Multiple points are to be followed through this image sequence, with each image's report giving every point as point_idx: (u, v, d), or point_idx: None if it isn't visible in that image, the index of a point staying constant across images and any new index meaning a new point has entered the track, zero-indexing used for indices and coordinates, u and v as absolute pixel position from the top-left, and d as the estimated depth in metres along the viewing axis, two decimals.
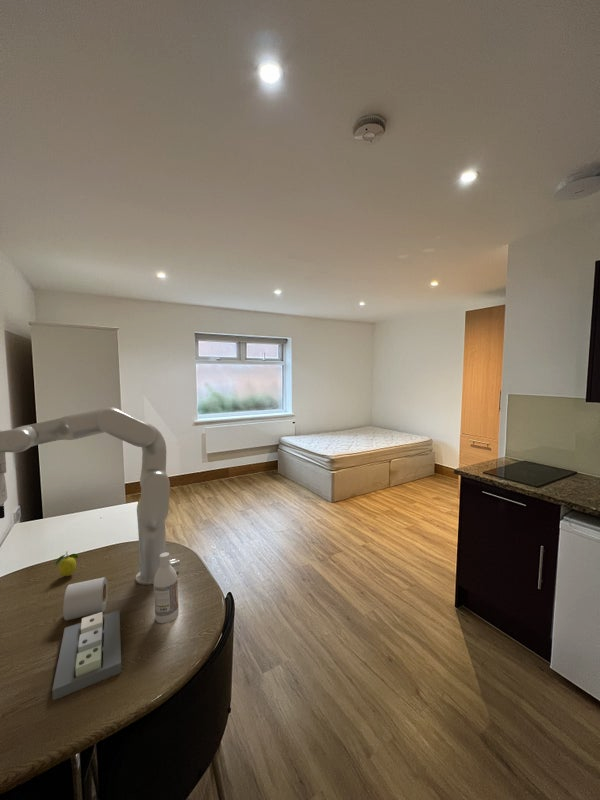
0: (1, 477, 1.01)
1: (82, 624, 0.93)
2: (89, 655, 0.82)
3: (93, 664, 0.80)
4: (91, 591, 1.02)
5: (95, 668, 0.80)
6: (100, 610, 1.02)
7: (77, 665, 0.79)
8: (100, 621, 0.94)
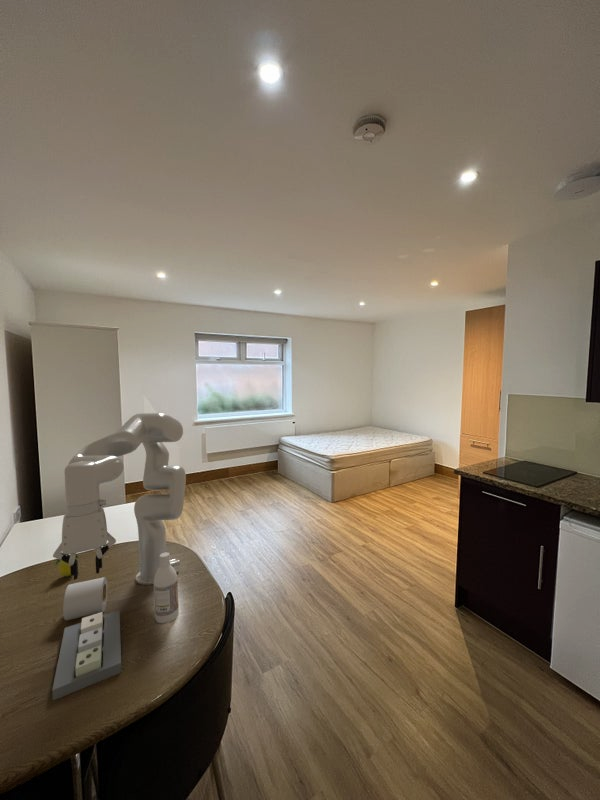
0: None
1: (82, 624, 0.93)
2: (89, 655, 0.82)
3: (93, 664, 0.80)
4: (91, 591, 1.02)
5: (95, 668, 0.80)
6: (100, 610, 1.02)
7: (77, 665, 0.79)
8: (100, 621, 0.94)
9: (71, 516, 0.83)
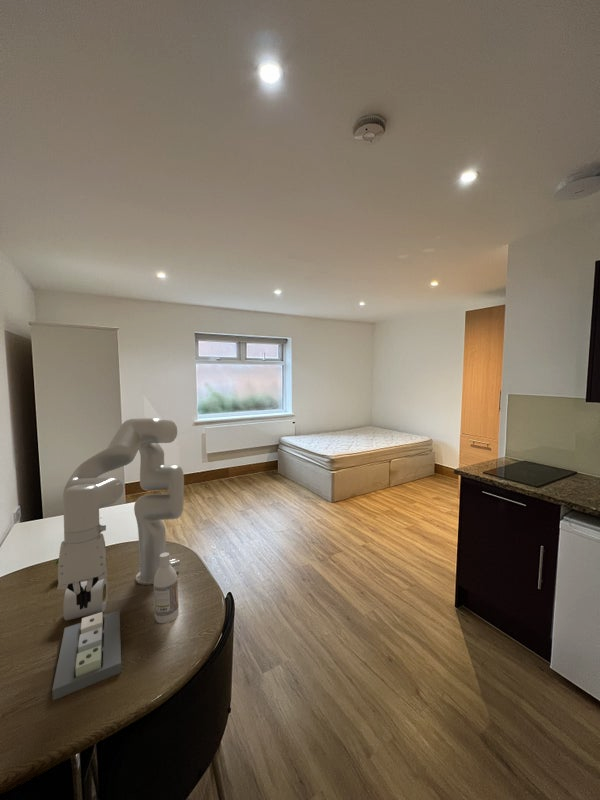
0: None
1: (82, 624, 0.93)
2: (89, 655, 0.82)
3: (93, 664, 0.80)
4: (91, 591, 1.02)
5: (95, 668, 0.80)
6: (100, 610, 1.02)
7: (77, 665, 0.79)
8: (100, 621, 0.94)
9: (69, 543, 0.79)
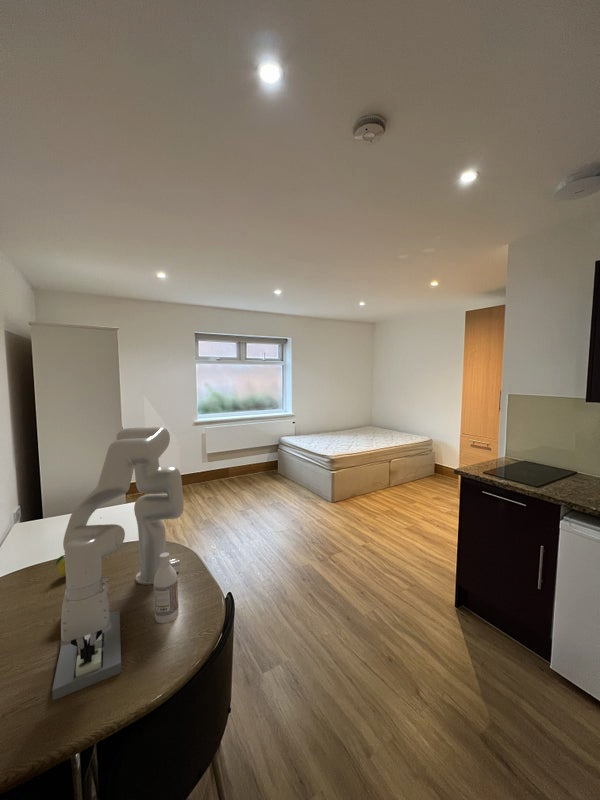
0: None
1: None
2: None
3: (93, 667, 0.80)
4: None
5: None
6: None
7: (77, 667, 0.79)
8: None
9: (71, 600, 0.77)
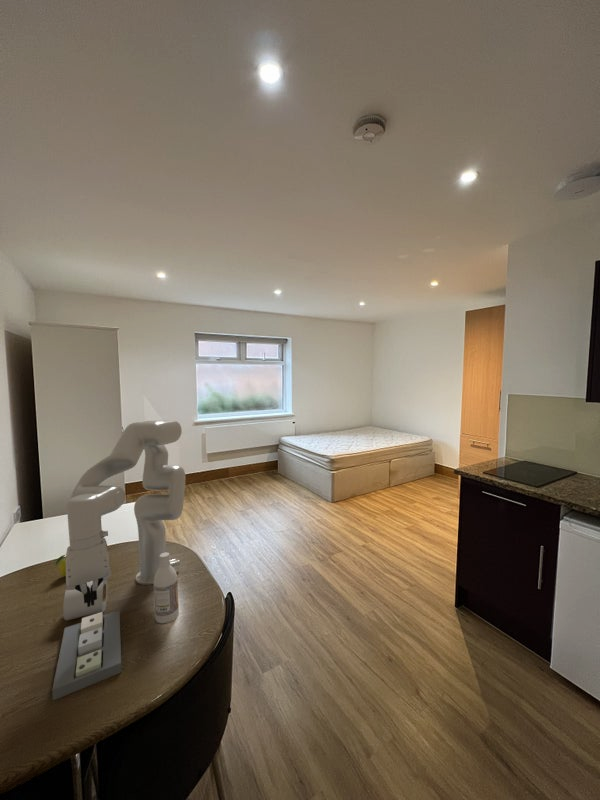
0: None
1: (82, 624, 0.93)
2: (89, 659, 0.82)
3: (93, 669, 0.80)
4: None
5: None
6: (100, 610, 1.02)
7: (77, 669, 0.79)
8: (100, 621, 0.94)
9: (74, 550, 0.85)
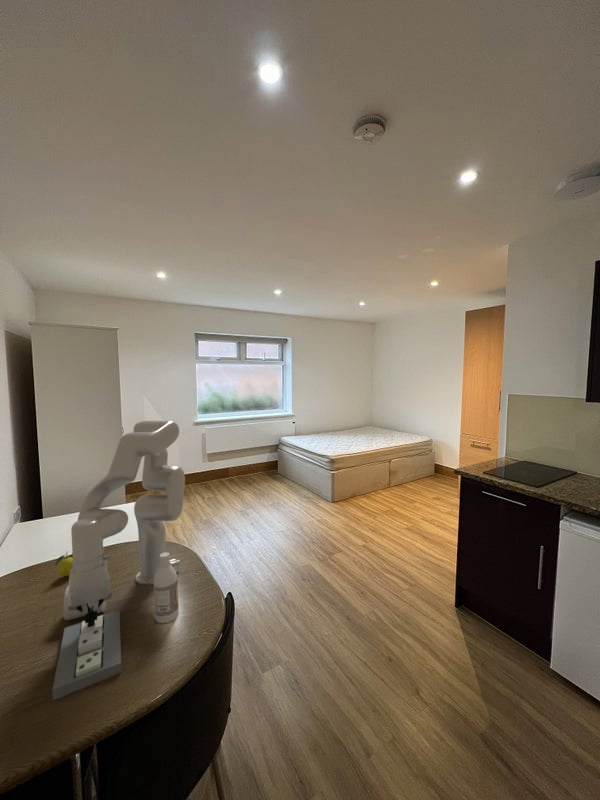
0: None
1: (82, 627, 0.93)
2: (89, 659, 0.82)
3: (93, 669, 0.80)
4: None
5: None
6: (100, 610, 1.02)
7: (77, 669, 0.79)
8: (100, 624, 0.94)
9: (77, 572, 0.90)
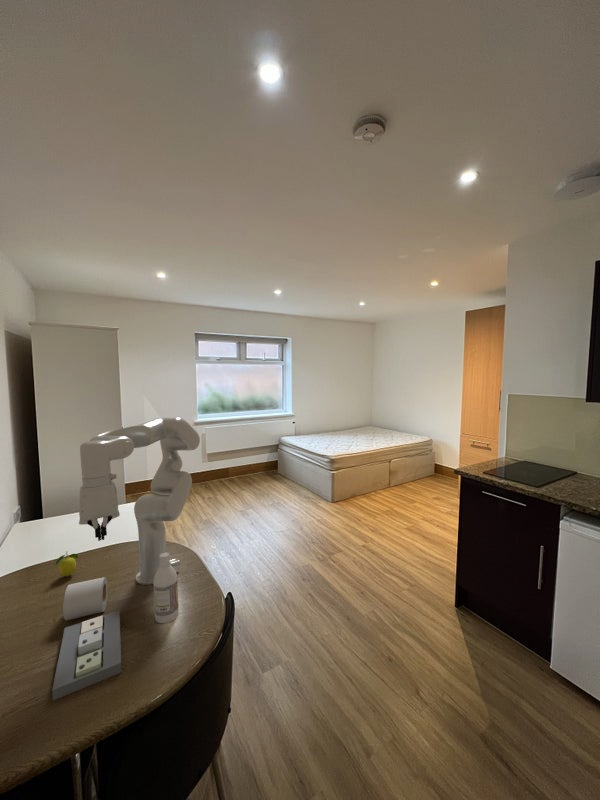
0: None
1: (82, 628, 0.93)
2: (89, 659, 0.82)
3: (93, 669, 0.80)
4: (91, 591, 1.02)
5: None
6: (100, 610, 1.02)
7: (77, 669, 0.79)
8: (100, 625, 0.94)
9: (87, 487, 0.95)
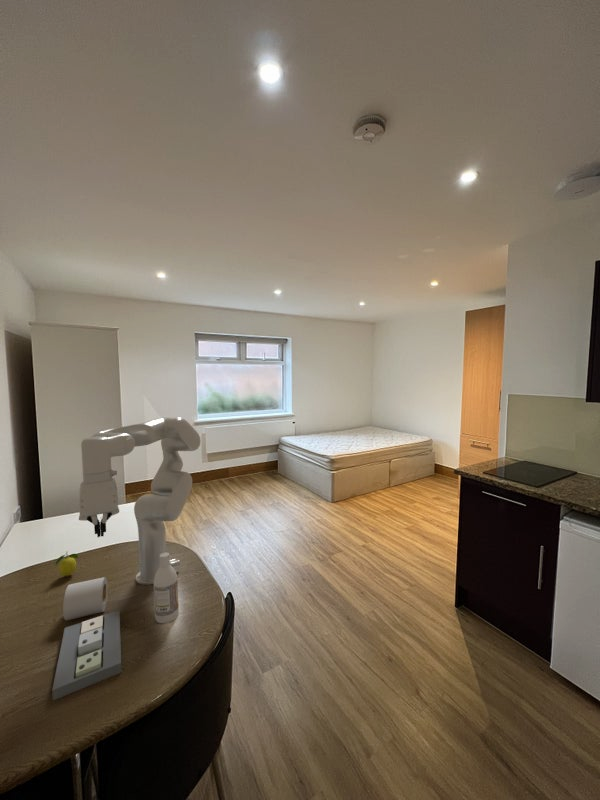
0: None
1: (82, 628, 0.93)
2: (89, 659, 0.82)
3: (93, 669, 0.80)
4: (91, 591, 1.02)
5: None
6: (100, 610, 1.02)
7: (77, 669, 0.79)
8: (100, 625, 0.94)
9: (87, 483, 0.96)
